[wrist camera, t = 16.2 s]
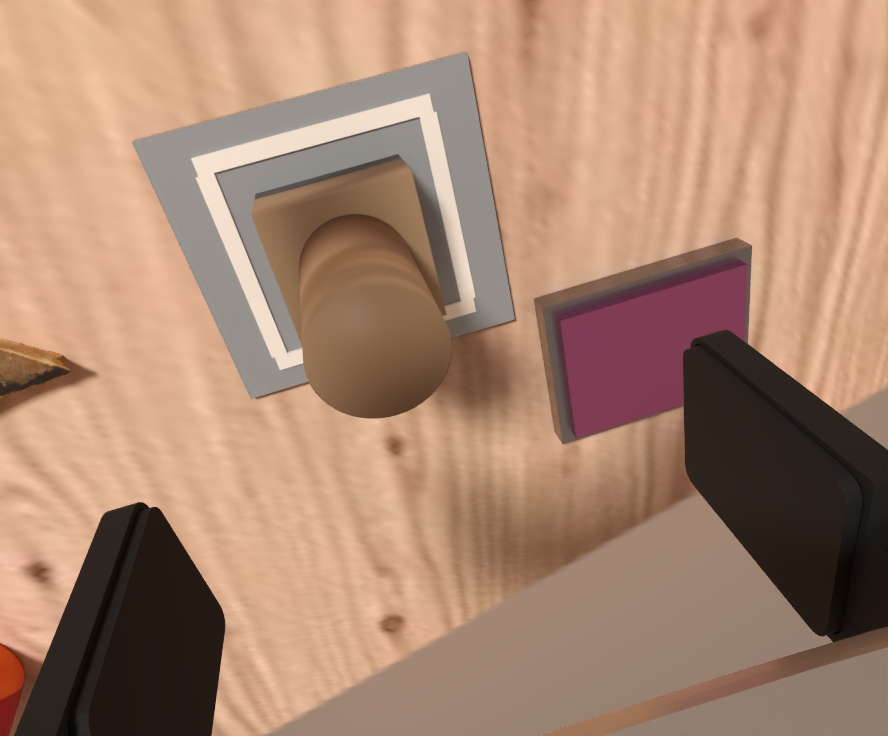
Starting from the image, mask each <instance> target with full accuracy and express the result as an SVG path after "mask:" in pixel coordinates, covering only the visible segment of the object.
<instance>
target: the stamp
mask: <svg viewBox="0 0 888 736" xmlns="http://www.w3.org/2000/svg"><path fill="white" fill-rule="evenodd" d="M252 219H253V222H254V224H255V227H256V229H257V232H258V235H259V237H260V240H261V242H262V245H263V247H264V250H265V253H266V255H267V258H268V260H269V263H270V265H271V268H272V270H273V273H274V276H275V278H276V281H277V283H278V286H279V288H280V291H281V293H282V296H283V299H284V301H285V304H286V306H287V309H288V311H289V314H290V317H291V319H292V322H293V324H294V327H295V329H296V332H297V334H298V337H299V340H300V342H301V345H302V351H303V364H304V370H305V373H306V376H307V379H308V381H309V383H310V385H311V387H312V388H313V390H314V391H315V393H316V394H317V395H318V396H319V397H320V398H321V399H322V400H323V401H324V402H326V403H327V404H328V405H330V406H331V407H333V408H334V409H336V410H338V411H340V412H342V413H345V414H348V415H351V416H355V417H360V418H385V417H391V416H395V415H398V414H401V413H404V412H407V411H409V410H411V409H413V408H415V407H416V406H418V405H419V404H421V403H422V402H424V401H425V400H426V399H427V398H429V397H430V396H431V395H432V394H433V393H434V392H435V390H436V389H437V388H438V387H439V385H440V384H441V382H442V381H443V379H444V377H445V375H446V373H447V371H448V368H449V365H450V361H451V354H452V341H451V335H450V332H449V329H448V326H447V324H446V322H445V320H444V318H443V316H445V315H447V314H446V310H445V306H444V302H443V298H442V294H441V290H440V285H439V281H438V277H437V273H436V269H435V265H434V261H433V257H432V252H431V248H430V244H429V240H428V236H427V232H426V228H425V224H424V220H423V215H422V211H421V207H420V203H419V199H418V195H417V191H416V187H415V182H414V178H413V174H412V171H411V170H410V169H409V167H408V166H407V165H406V164H405V162H404V161H403V160H402V158H401V157H400V156H399V154H397V155H393V156H390V157H386V158H382V159H379V160H375V161H372V162H368V163H364V164H361V165H357V166H354V167H350V168H346V169H343V170H339V171H336V172H332V173H328V174H325V175H321V176H318V177H314V178H311V179H307V180H303V181H300V182H296V183H293V184H289V185H285V186H282V187H278V188H275V189H271V190H267V191H264V192H260V193H257V194H255V200H254V206H253V211H252Z"/></svg>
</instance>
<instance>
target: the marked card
mask: <svg viewBox="0 0 888 736" xmlns="http://www.w3.org/2000/svg"><path fill="white" fill-rule="evenodd" d="M132 143H133V145H134V147H135V150H136V152H137V154H138V156H139V158H140V160H141V163H142V165H143V167H144V169H145V171H146V173H147V176H148V178H149V180H150V182H151V184H152V186H153V188H154V191H155V193H156V195H157V197H158V199H159V201H160V204H161V206H162V208H163V210H164V212H165V214H166V217H167V219H168V221H169V223H170V225H171V227H172V230H173V232H174V234H175V236H176V238H177V240H178V242H179V245H180V247H181V249H182V251H183V253H184V255H185V258H186V260H187V262H188V264H189V266H190V268H191V271H192V273H193V275H194V277H195V279H196V281H197V284H198V286H199V288H200V290H201V292H202V294H203V297H204V299H205V301H206V303H207V305H208V307H209V309H210V312H211V314H212V316H213V318H214V320H215V322H216V325H217V327H218V329H219V331H220V333H221V335H222V338H223V340H224V342H225V344H226V346H227V348H228V351H229V353H230V355H231V357H232V359H233V361H234V363H235V366H236V368H237V370H238V372H239V374H240V376H241V379H242V381H243V383H244V385H245V387H246V389H247V392H248V394H249V396H250V398H251V399H253V398H256V397H259V396H263V395H266V394H269V393H273V392H276V391H279V390H282V389H286V388H289V387H292V386H296V385H299V384H302V383H306V382H309V381H308V379H307V376H306V373H305V370H304V364H303V351H302V345H301V342H300V340H299V337H298V334H297V332H296V329H295V327H294V324H293V322H292V319H291V317H290V314H289V311H288V309H287V306H286V304H285V301H284V299H283V296H282V293H281V291H280V288H279V286H278V283H277V281H276V278H275V276H274V273H273V270H272V268H271V265H270V263H269V260H268V258H267V255H266V253H265V250H264V247H263V245H262V242H261V240H260V237H259V235H258V232H257V229H256V227H255V224H254V222H253V219H252V211H253V206H254V200H255V194H257V193H260V192H264V191H267V190H271V189H275V188H278V187H282V186H285V185H289V184H293V183H296V182H300V181H303V180H307V179H311V178H314V177H318V176H321V175H325V174H328V173H332V172H336V171H339V170H343V169H346V168H350V167H354V166H357V165H361V164H364V163H368V162H372V161H375V160H379V159H382V158H386V157H390V156H393V155H397V154H399V156H400V157H401V158H402V160H403V161H404V162H405V164H406V165H407V166H408V167H409V169H410V170H411V171H412V174H413V178H414V182H415V187H416V191H417V195H418V199H419V203H420V207H421V211H422V215H423V220H424V224H425V228H426V232H427V236H428V240H429V244H430V248H431V252H432V257H433V261H434V265H435V269H436V273H437V277H438V281H439V285H440V290H441V294H442V298H443V302H444V306H445V310H446V314H447V315H445V316H443V318H444V320H445V322H446V324H447V326H448V329H449V332H450V335H451V339H452V338H455V337H458V336H462V335H465V334H468V333H471V332H475V331H478V330H481V329H485V328H488V327H491V326H495V325H498V324H501V323H505V322H508V321H511V320H515V318H514V312H513V306H512V301H511V295H510V290H509V284H508V278H507V273H506V267H505V262H504V256H503V250H502V245H501V239H500V234H499V228H498V222H497V217H496V211H495V206H494V200H493V194H492V189H491V183H490V178H489V172H488V166H487V161H486V155H485V150H484V144H483V138H482V133H481V127H480V122H479V116H478V110H477V105H476V99H475V94H474V88H473V82H472V77H471V71H470V66H469V60H468V54H467V52H462V53H459V54H455V55H451V56H448V57H444V58H440V59H436V60H433V61H429V62H425V63H421V64H418V65H414V66H410V67H406V68H403V69H399V70H395V71H392V72H388V73H384V74H380V75H377V76H373V77H369V78H365V79H362V80H358V81H354V82H350V83H347V84H343V85H339V86H336V87H332V88H328V89H324V90H321V91H317V92H313V93H309V94H306V95H302V96H298V97H294V98H291V99H287V100H283V101H279V102H276V103H272V104H268V105H265V106H261V107H257V108H253V109H250V110H246V111H242V112H238V113H235V114H231V115H227V116H223V117H220V118H216V119H212V120H209V121H205V122H201V123H197V124H194V125H190V126H186V127H182V128H179V129H175V130H171V131H167V132H164V133H160V134H156V135H153V136H149V137H145V138H141V139H138V140H134V141H133V142H132Z"/></svg>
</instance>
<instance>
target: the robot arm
mask: <svg viewBox="0 0 888 736" xmlns="http://www.w3.org/2000/svg"><path fill="white" fill-rule="evenodd" d="M683 389H684V434H685V466H686V471H687V474H688V477H689V479H690V481H691V482H692V484H693V485H694V486H695V488H696V489H697V490H698V491H699V493H700V494H701V495H702V496H703V497H704V499H705V500H706V501H707V502H708V504H709V505H710V506H711V507H712V509H713V510H714V511H715V512H716V513H717V514H718V516H719V517H720V518H721V519H722V520H723V522H724V523H725V524H726V526H727V527H728V528H729V529H730V531H731V532H732V533H733V534H734V535H735V537H736V538H737V539H738V540H739V542H740V543H741V544H742V545H743V547H744V548H745V549H746V550H747V551H748V553H749V554H750V555H751V556H752V558H753V559H754V560H755V561H756V562H757V564H758V565H759V566H760V567H761V569H762V570H763V571H764V572H765V573H766V575H767V576H768V577H769V578H770V580H771V581H772V582H773V583H774V584H775V586H776V587H777V588H778V589H779V591H780V592H781V593H782V594H783V595H784V597H785V598H786V599H787V600H788V602H789V603H790V604H791V605H792V607H793V608H794V609H795V610H796V611H797V613H798V614H799V615H800V616H801V618H802V619H803V620H804V621H805V623H806V624H807V625H808V626H809V627H810V628H811V629H812V631H813V632H815V633H816V634H817V635H819V636H825V635H827V636H828V637H829V638H830V639H831V640H832V641H833V643H830V644H826V645H823V646H820V647H817V648H813V649H810V650H806V651H803V652H800V653H796V654H793V655H790V656H786V657H783V658H780V659H777V660H774V661H770V662H767V663H764V664H761V665H758V666H754V667H751V668H748V669H745V670H742V671H739V672H736V673H733V674H729V675H727V676H723V677H720V678H717V679H714V680H711V681H707V682H705V683H701V684H698V685H695V686H692V687H689V688H686V689H683V690H680V691H676V692H673V693H670V694H667V695H664V696H661V697H657V698H654V699H651V700H648V701H645V702H642V703H639V704H635V705H632V706H629V707H626V708H623V709H620V710H617V711H614V712H611V713H608V714H604V715H601V716H598V717H595V718H592V719H589V720H586V721H583V722H580V723H577V724H574V725H571V726H568V727H564V728H561V729H558V730H555V731H552V732H549V733H546V734H543V735H540V736H888V450H887V449H886V448H884V447H883V446H882V445H880V444H879V443H878V442H876V441H875V440H874V439H872V438H871V437H870V436H868V435H867V434H866V433H865V432H863V431H862V430H861V429H859V428H858V427H857V426H855V425H854V424H853V423H851V422H850V421H849V420H847V419H846V418H845V417H843V416H842V415H841V414H840V413H838V412H837V411H836V410H834V409H833V408H832V407H830V406H829V405H828V404H826V403H825V402H824V401H822V400H821V399H820V398H818V397H817V396H816V395H814V394H813V393H812V392H810V391H809V390H808V389H806V388H805V387H804V386H803V385H801V384H800V383H799V382H797V381H796V380H795V379H793V378H792V377H791V376H789V375H788V374H787V373H785V372H784V371H783V370H781V369H780V368H779V367H777V366H776V365H775V364H773V363H772V362H771V361H769V360H768V359H767V358H766V357H764V356H763V355H762V354H760V353H759V352H758V351H756V350H755V349H754V348H752V347H751V346H750V345H748V344H747V343H746V342H744V341H743V340H742V339H740V338H739V337H738V336H736V335H735V334H734V333H732V332H731V331H729V330H721V331H718V332H714V333H711V334H708V335H704V336H701V337H697V338H695V339H693V340H692V342H691V346H690V348H689V349H686V350H685V351H684V353H683ZM224 634H225V618H224V614H223V610H222V608H221V606H220V604H219V603H218V601H217V600H216V598H215V596H214V595H213V593H212V592H211V590H210V588H209V587H208V585H207V584H206V582H205V580H204V579H203V577H202V576H201V574H200V572H199V571H198V569H197V568H196V566H195V564H194V563H193V561H192V560H191V558H190V556H189V555H188V553H187V552H186V550H185V548H184V547H183V545H182V544H181V542H180V540H179V539H178V537H177V536H176V534H175V532H174V531H173V529H172V528H171V526H170V524H169V523H168V521H167V519H166V518H165V516H164V515H163V513H162V512H161V510H160V509H159V508H157V507H152V508H149V507H148V506H147V505H146V504H145V503H143V502H138V503H135V504H132V505H128V506H125V507H121V508H118V509H115V510H111V511H108V512H106V513H105V514H104V515H103V516H102V518H101V520H100V523H99V525H98V528H97V530H96V533H95V535H94V538H93V540H92V543H91V545H90V548H89V550H88V553H87V555H86V558H85V560H84V563H83V565H82V568H81V570H80V573H79V575H78V578H77V580H76V583H75V585H74V588H73V590H72V593H71V595H70V598H69V600H68V603H67V605H66V608H65V610H64V613H63V615H62V618H61V620H60V623H59V625H58V628H57V630H56V633H55V635H54V638H53V640H52V643H51V645H50V648H49V650H48V653H47V655H46V658H45V660H44V663H43V665H42V668H41V670H40V673H39V675H38V678H37V680H36V683H35V685H34V688H33V690H32V693H31V695H30V698H29V700H28V703H27V705H26V708H25V710H24V713H23V715H22V718H21V720H20V723H19V725H18V728H17V730H16V733H15V735H14V736H211V734H212V727H213V719H214V711H215V703H216V696H217V688H218V680H219V672H220V665H221V657H222V649H223V641H224Z"/></svg>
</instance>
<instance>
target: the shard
mask: <svg viewBox="0 0 888 736" xmlns="http://www.w3.org/2000/svg"><path fill="white" fill-rule="evenodd" d="M61 357H62V354H59V353H55V352H51V351H45V350H41V349H38V348H35V347H31V346H27V345H24V344H21V343H18V342H13V341H9V340H5V339H0V398H1V397H4V396H6V395H9V394H12V393H14V392H16V391H20V390H23V389H25V388H27V387H30V386H37V385H40V384H46V383H47V382H49V381H51V380H53V379H55V378H57V377H60V376H62V375H65V374H67V373H69V372H70V370H69V368H67V367H65V366H64V365H63V364H62V363H61V362H60V361H59V360H60V359H61Z"/></svg>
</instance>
